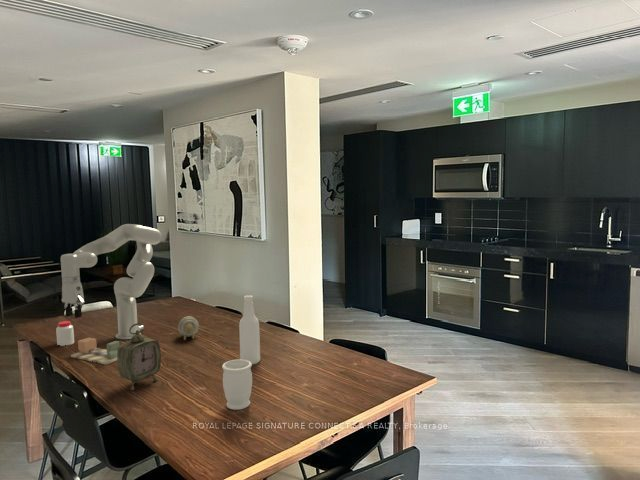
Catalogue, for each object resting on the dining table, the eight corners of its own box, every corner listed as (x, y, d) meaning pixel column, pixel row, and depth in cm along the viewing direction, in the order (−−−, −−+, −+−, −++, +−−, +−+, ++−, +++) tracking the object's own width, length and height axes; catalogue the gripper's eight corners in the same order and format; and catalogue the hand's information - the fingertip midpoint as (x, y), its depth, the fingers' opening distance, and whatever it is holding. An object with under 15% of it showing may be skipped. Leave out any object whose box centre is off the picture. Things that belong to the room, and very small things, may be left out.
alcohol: (252, 356, 215) (250, 293, 212) (264, 361, 209) (262, 295, 206) (236, 361, 209) (234, 296, 206) (248, 366, 203) (246, 299, 200)
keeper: (78, 352, 221) (77, 340, 220) (89, 348, 226) (89, 337, 225) (85, 354, 218) (84, 342, 218) (96, 350, 224) (96, 338, 223)
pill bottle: (66, 346, 234) (65, 324, 233) (53, 345, 236) (52, 324, 235) (77, 341, 242) (76, 320, 241) (64, 340, 243) (63, 320, 242)
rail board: (70, 356, 219) (69, 340, 218) (93, 349, 229) (92, 333, 229) (105, 364, 208) (104, 347, 207) (127, 356, 219) (126, 339, 218)
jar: (225, 399, 172) (224, 359, 170) (253, 397, 172) (252, 358, 171) (221, 412, 161) (220, 370, 159) (252, 410, 162) (250, 369, 160)
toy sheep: (180, 343, 237) (179, 321, 236) (176, 333, 252) (175, 313, 251) (201, 340, 241) (200, 319, 240) (196, 331, 256) (195, 311, 255)
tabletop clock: (131, 393, 178) (127, 329, 175) (116, 388, 182) (112, 326, 180) (162, 380, 190) (158, 320, 187) (147, 375, 195) (144, 317, 192)
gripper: (90, 279, 222) (92, 316, 224) (66, 277, 230) (69, 312, 232) (75, 282, 215) (78, 320, 217) (52, 279, 223) (55, 316, 225)
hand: (73, 316), depth 224 cm, fingers open, 5 cm apart
